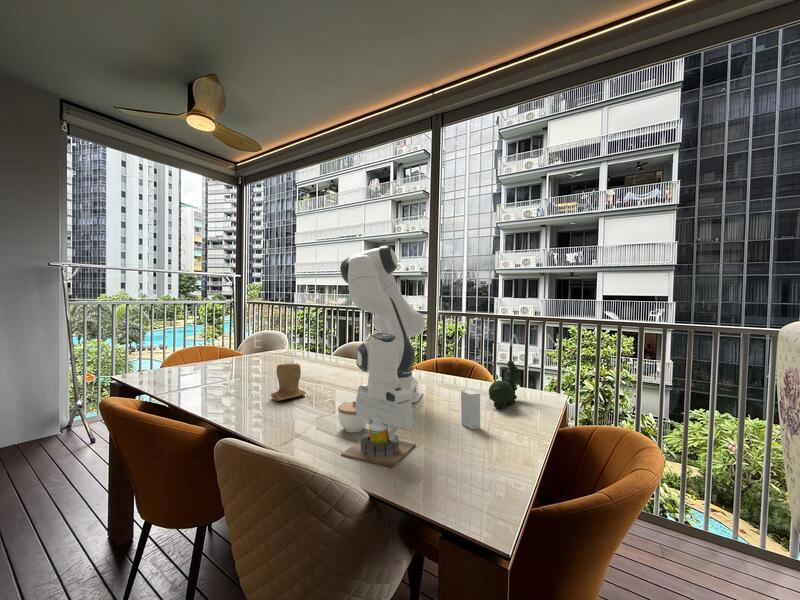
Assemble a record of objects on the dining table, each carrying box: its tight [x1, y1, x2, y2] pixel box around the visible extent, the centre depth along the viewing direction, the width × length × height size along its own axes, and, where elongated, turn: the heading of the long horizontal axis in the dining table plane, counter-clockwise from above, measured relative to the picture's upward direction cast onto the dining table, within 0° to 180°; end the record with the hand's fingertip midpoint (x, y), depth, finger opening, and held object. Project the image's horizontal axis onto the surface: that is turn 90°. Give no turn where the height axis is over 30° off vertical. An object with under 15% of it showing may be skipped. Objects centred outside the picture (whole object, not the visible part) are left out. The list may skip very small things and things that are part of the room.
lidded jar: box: [337, 400, 368, 433], centre depth 126 cm, size 11×11×9 cm
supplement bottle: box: [369, 415, 389, 443], centre depth 108 cm, size 5×5×10 cm
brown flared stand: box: [270, 363, 307, 402], centre depth 162 cm, size 15×12×15 cm
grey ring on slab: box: [340, 431, 417, 469], centre depth 109 cm, size 16×16×4 cm
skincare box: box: [460, 389, 481, 430], centre depth 131 cm, size 6×4×12 cm
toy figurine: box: [488, 360, 519, 410], centre depth 157 cm, size 9×19×25 cm
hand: (382, 436), depth 109 cm, fingers closed on supplement bottle, 5 cm apart
